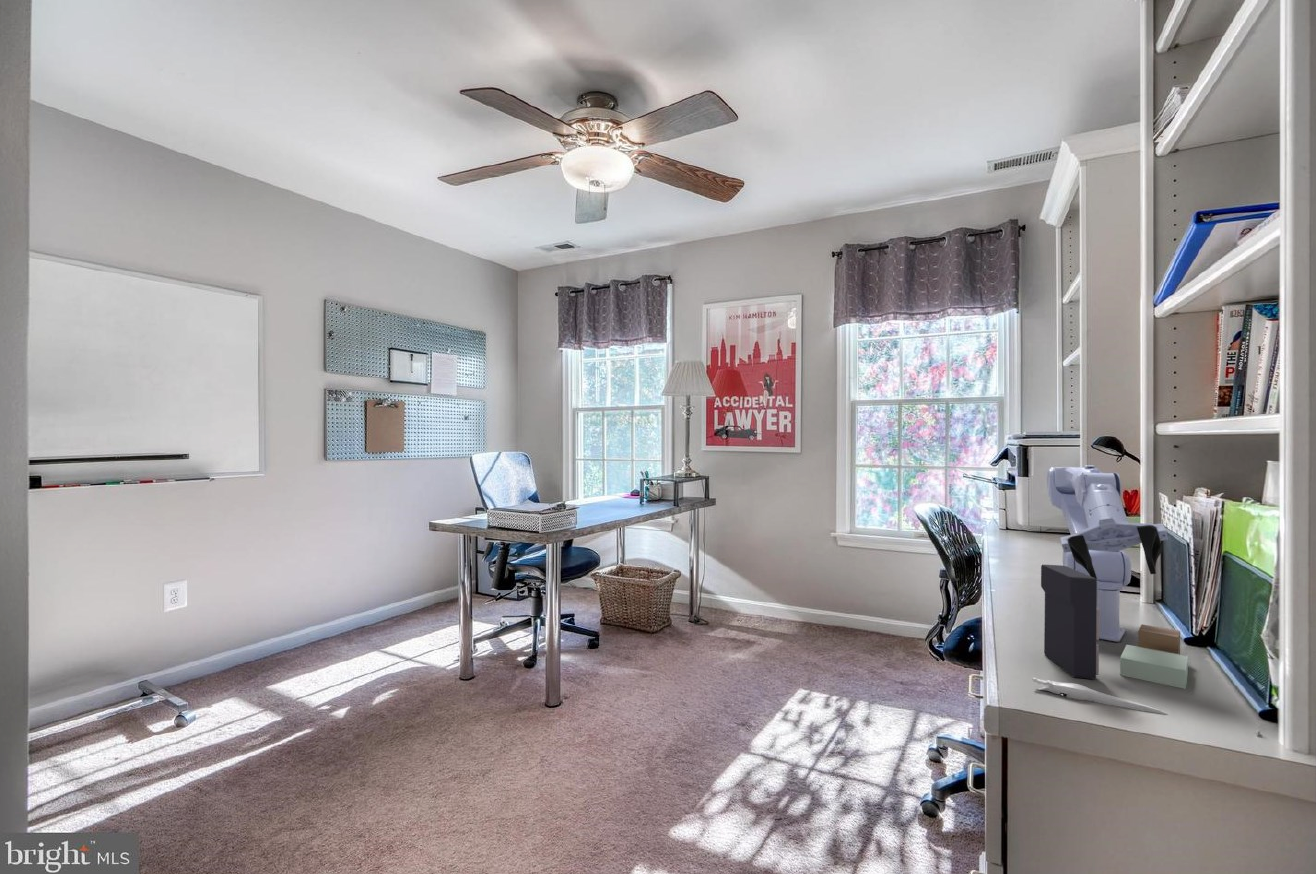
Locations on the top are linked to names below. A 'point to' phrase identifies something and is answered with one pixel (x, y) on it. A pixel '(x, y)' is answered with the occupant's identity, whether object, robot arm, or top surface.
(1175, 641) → the walnut cube
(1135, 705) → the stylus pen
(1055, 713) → the top surface
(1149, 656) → the block
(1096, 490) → the robot arm
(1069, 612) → the calculator
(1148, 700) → the top surface
